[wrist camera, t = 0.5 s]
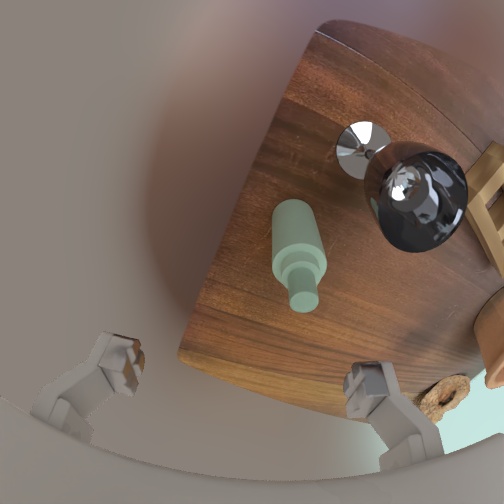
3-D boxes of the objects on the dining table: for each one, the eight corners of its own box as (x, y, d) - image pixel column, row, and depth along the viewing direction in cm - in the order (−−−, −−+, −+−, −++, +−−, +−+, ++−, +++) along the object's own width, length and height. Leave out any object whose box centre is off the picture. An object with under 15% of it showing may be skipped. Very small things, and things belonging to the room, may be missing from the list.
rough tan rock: (444, 356, 62) (458, 368, 54) (463, 374, 62) (476, 385, 55) (403, 403, 64) (413, 418, 56) (426, 416, 65) (435, 429, 57)
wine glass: (405, 164, 29) (475, 223, 17) (352, 193, 32) (397, 269, 20) (377, 106, 26) (453, 132, 13) (319, 138, 29) (358, 184, 16)
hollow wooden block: (492, 140, 25) (512, 150, 21) (526, 223, 31) (540, 236, 27) (449, 191, 30) (466, 206, 27) (490, 263, 36) (502, 278, 32)
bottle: (290, 190, 32) (302, 266, 20) (322, 215, 34) (348, 298, 22) (263, 221, 35) (259, 306, 23) (295, 243, 36) (305, 331, 24)
